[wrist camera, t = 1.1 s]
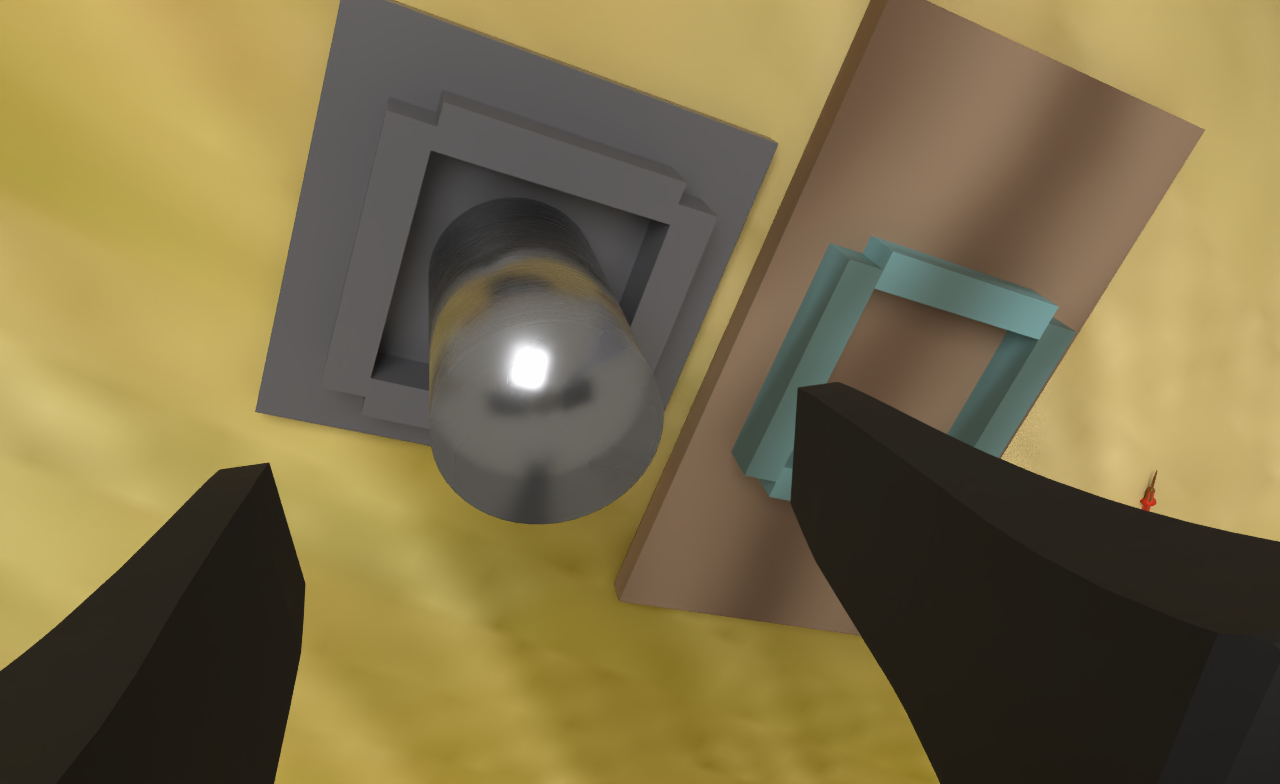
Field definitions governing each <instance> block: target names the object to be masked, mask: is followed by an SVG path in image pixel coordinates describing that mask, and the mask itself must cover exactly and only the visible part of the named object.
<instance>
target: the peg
mask: <svg viewBox="0 0 1280 784" xmlns="http://www.w3.org/2000/svg"><path fill="white" fill-rule="evenodd" d="M428 307H429V396H430V439H431V447H432V451H433V455H434V459H435V461H436V464H437V466H438V468H439V471H440V472H441V474H442V476H443V477H444V479H445V480H446V482H447V483H448V484H449V486H450V487H451V488H452V489H453V490H454V491H455V492H456V493H457V494H458V495H459V496H460V497H461V498H462V499H464V500H465V501H466V502H467V503H469V504H470V505H472V506H473V507H475V508H476V509H478V510H480V511H482V512H484V513H486V514H488V515H491V516H494V517H497V518H500V519H503V520H507V521H511V522H516V523H525V524H551V523H560V522H564V521H569V520H574V519H577V518H580V517H583V516H586V515H588V514H591V513H593V512H595V511H598V510H600V509H602V508H603V507H605V506H607V505H609V504H610V503H612V502H613V501H615V500H616V499H618V498H619V497H620V496H622V495H623V494H624V493H625V492H626V491H628V490H629V489H630V488H631V487H632V486H633V485H634V484H635V483H636V482H637V481H638V479H639V478H640V477H641V476H642V475H643V473H644V472H645V470H646V469H647V468H648V466H649V465H650V463H651V461H652V459H653V457H654V455H655V453H656V451H657V448H658V445H659V442H660V439H661V434H662V429H663V417H664V413H663V402H662V398H661V394H660V390H659V387H658V385H657V382H656V380H655V378H654V376H653V373H652V371H651V369H650V367H649V365H648V363H647V361H646V359H645V357H644V355H643V353H642V351H641V349H640V347H639V345H638V343H637V341H636V339H635V336H634V334H633V332H632V330H631V328H630V326H629V324H628V322H627V320H626V318H625V316H624V314H623V312H622V310H621V308H620V306H619V304H618V302H617V299H616V297H615V295H614V293H613V291H612V289H611V287H610V285H609V283H608V281H607V279H606V277H605V275H604V273H603V271H602V269H601V267H600V265H599V262H598V260H597V258H596V256H595V254H594V252H593V250H592V248H591V246H590V244H589V242H588V240H587V238H586V237H585V235H584V233H583V232H582V231H581V229H580V228H579V227H578V226H577V224H576V223H575V222H573V221H572V220H571V219H570V218H569V217H568V216H567V215H565V214H564V213H563V212H561V211H560V210H558V209H556V208H554V207H552V206H550V205H548V204H545V203H543V202H540V201H536V200H532V199H528V198H518V197H513V198H500V199H494V200H490V201H487V202H483V203H481V204H479V205H476V206H474V207H472V208H470V209H469V210H467V211H465V212H464V213H462V214H461V215H460V216H458V217H457V218H456V219H455V220H453V221H452V223H451V224H450V225H449V226H448V227H447V228H446V229H445V230H444V232H443V233H442V235H441V236H440V237H439V239H438V241H437V243H436V245H435V247H434V250H433V252H432V255H431V259H430V264H429V272H428Z"/></svg>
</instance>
